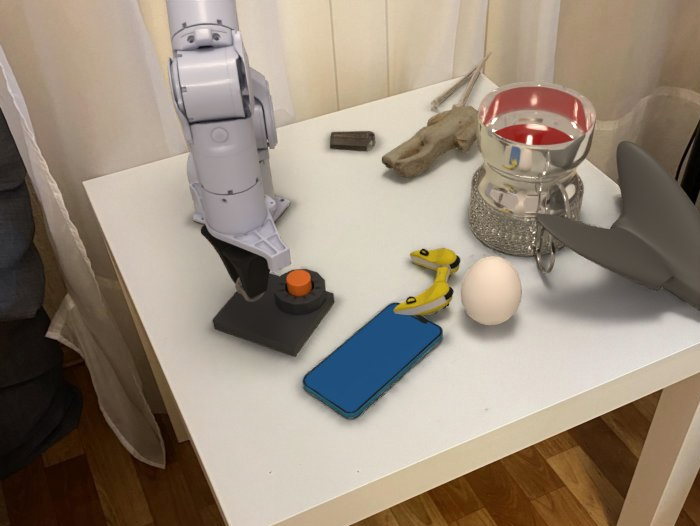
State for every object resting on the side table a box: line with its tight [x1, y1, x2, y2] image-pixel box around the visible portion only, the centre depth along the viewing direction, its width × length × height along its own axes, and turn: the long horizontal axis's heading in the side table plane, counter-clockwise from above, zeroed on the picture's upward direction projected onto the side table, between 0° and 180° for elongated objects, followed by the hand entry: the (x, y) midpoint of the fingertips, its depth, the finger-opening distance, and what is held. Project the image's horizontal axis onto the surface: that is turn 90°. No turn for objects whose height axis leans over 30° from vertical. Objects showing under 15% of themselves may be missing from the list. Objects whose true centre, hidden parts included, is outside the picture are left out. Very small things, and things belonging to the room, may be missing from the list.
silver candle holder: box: [468, 80, 597, 275], centre depth 95 cm, size 13×18×15 cm
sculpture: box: [381, 105, 478, 178], centre depth 110 cm, size 7×5×15 cm
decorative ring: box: [234, 277, 265, 302], centre depth 87 cm, size 3×2×3 cm
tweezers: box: [430, 51, 492, 110], centre depth 122 cm, size 17×5×2 cm, turn 154°
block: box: [329, 130, 376, 152], centre depth 113 cm, size 4×6×2 cm, turn 88°
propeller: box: [537, 140, 700, 311], centre depth 90 cm, size 23×25×9 cm
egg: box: [460, 255, 523, 326], centre depth 89 cm, size 6×6×8 cm
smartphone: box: [301, 301, 444, 419], centre depth 87 cm, size 7×1×15 cm
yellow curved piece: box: [393, 247, 461, 316], centre depth 94 cm, size 10×4×10 cm
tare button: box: [286, 269, 312, 296], centre depth 91 cm, size 3×3×2 cm
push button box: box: [211, 268, 335, 357], centre depth 92 cm, size 10×10×3 cm
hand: (250, 286), depth 87 cm, fingers closed on decorative ring, 2 cm apart
